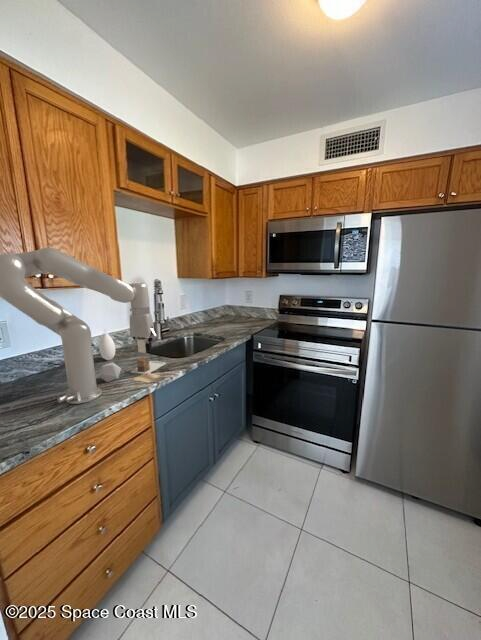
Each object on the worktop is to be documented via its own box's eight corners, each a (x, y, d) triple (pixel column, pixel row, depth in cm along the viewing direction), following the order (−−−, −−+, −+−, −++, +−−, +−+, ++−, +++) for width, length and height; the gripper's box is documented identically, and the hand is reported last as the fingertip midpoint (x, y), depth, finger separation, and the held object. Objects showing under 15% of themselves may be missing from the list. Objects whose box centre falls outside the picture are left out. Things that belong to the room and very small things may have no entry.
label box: (145, 352, 118) (144, 339, 117) (138, 352, 119) (136, 338, 118) (151, 350, 122) (150, 337, 121) (144, 349, 123) (142, 336, 122)
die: (121, 383, 120) (125, 362, 124) (102, 379, 114) (107, 358, 118) (112, 385, 125) (117, 365, 129) (93, 382, 119) (99, 361, 123)
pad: (148, 383, 117) (148, 382, 117) (132, 381, 120) (131, 380, 120) (160, 375, 126) (160, 374, 126) (144, 373, 129) (144, 372, 128)
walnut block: (144, 372, 129) (143, 360, 128) (137, 371, 130) (136, 359, 129) (149, 369, 133) (148, 358, 132) (143, 368, 134) (142, 357, 133)
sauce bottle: (118, 359, 150) (115, 328, 147) (104, 363, 144) (100, 331, 141) (112, 356, 155) (109, 326, 152) (98, 360, 149) (94, 329, 146)
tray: (147, 375, 126) (147, 373, 126) (130, 373, 130) (130, 371, 129) (166, 364, 141) (166, 362, 141) (150, 362, 144) (150, 360, 144)
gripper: (119, 312, 116) (123, 352, 120) (151, 313, 111) (155, 355, 114) (131, 309, 123) (135, 347, 127) (161, 310, 118) (165, 349, 121)
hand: (144, 350), depth 120 cm, fingers closed on label box, 4 cm apart
